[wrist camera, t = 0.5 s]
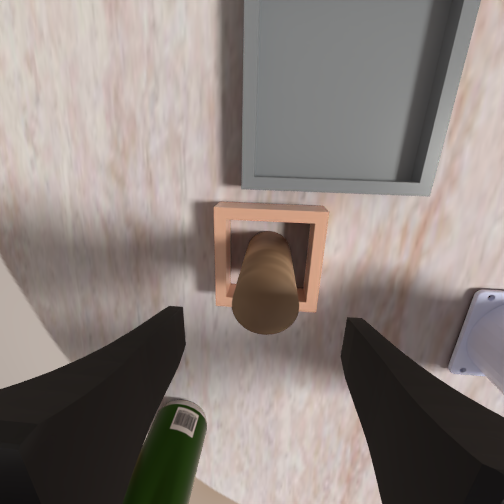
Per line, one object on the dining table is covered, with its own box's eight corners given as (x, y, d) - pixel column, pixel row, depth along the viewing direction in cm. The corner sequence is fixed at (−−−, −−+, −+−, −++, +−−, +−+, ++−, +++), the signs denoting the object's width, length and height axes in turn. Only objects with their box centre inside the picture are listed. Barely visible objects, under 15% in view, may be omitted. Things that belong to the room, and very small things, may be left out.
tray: (470, -34, 14) (496, -59, 13) (415, 192, 18) (429, 196, 17) (248, -31, 15) (245, -54, 13) (244, 186, 19) (241, 189, 18)
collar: (323, 205, 19) (329, 212, 17) (312, 297, 22) (316, 312, 20) (219, 201, 20) (213, 207, 18) (221, 291, 22) (215, 305, 20)
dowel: (291, 232, 20) (302, 278, 13) (288, 272, 21) (296, 336, 14) (247, 230, 20) (231, 274, 13) (246, 270, 22) (231, 332, 14)
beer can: (162, 391, 27) (82, 561, 16) (213, 405, 27) (170, 583, 16) (155, 426, 29) (80, 600, 18) (203, 439, 29) (158, 619, 18)
